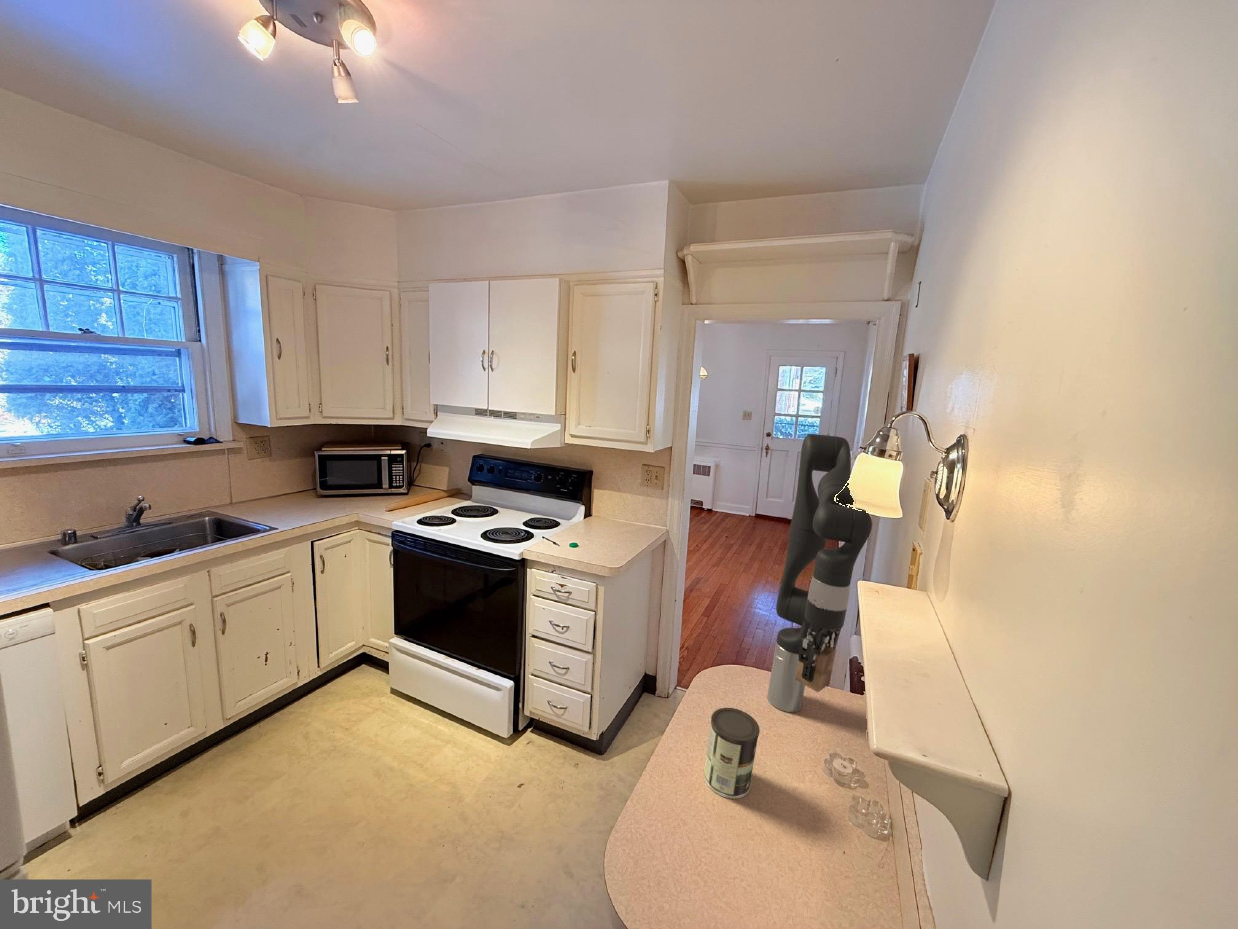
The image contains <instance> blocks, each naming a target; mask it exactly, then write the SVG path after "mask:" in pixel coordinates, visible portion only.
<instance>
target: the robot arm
mask: <svg viewBox="0 0 1238 929" xmlns="http://www.w3.org/2000/svg"><path fill="white" fill-rule="evenodd" d="M799 458H800V460H799V469H798V470H799V471H798V479H797V488H796V496H795V500H794V501H795V502H794V507H793V512H792V517H791V523H790V528H789V533H788V534H789V535H788V544H787V549H786V550H787V551H786V557H785V563H784V564H785V565H784V570H783V572H782V573H783V574H782V576H781V577H782V578H781V582H780V586H779V591H778V594H777V595H778V596H777V599H776V605H775V606H776V607H775V611H776V615H777V616H778V617H779V618H781V619H783V620H785V621H788V622H791V623H793V624H796V625H799V626H801V627H785V628H782V629H780V630H779V631H778V632H777V636H776V643H775V647H774V654H773V658H772V659H773V660H772V665H771V672H770V677H769V683H768V688H767V697H766V698H767V700H768V702H769V703H770V705H771V706H773V707H775V708H776V709H778V710H780V711H783V712H787V713H797V712H800V711H801V709H802V707H803V706H802V705H803V699H804V695H805V691H806V685H804V684H802V683H800V682H799V681H797V680H795V679H796V674H797V668H798V663H799V661H800V662H802V663H804V665H803V671H802V678H803V679H805V680H807V681H808V682H812V681H813V678H814V672H815V667H816V663H817V659H818V656H821V655H822V653H823V650H824V647H828V648H830V649H831V648H834V649H837V645H838V642H839V641H838V640H839V637H840V634H841V630H842V628H843V627H844V625H845V621H846V620H845V619H846V615H847V614H846V613H847V610H848V604H849V600H850V587H851V581H852V577H853V571H854V567H855V564H856V561H857V559H858V557H859V555H860V553H861V551H862V549H863V548H864V546H865V544H866V543H867V541H868V539H869V537H870V535H871V532H872V528H873V519H872V517H871V515H870V513H869V512H868V513H866V511H867V510H866V509H863V508H860V507H855V508H856V509H858V510H862V511H858V510H855V509H852V508H853V507H850V506H849V508H847V506H848V505H846V504H850V505H853V502H854V500H853V498H852V496H851V495H850V490H849V488H848V487H847V486H848V485H849V483H847V481H848V480H849V478H850V475H851V474H852V472H851V471H852V466H851V464H852V462H851V461H852V460H851V459H852V458H851V446H850V443H849V441H848V440H847V439H846V438H845V437H842V436H835V435H827V434H826V435H825V434H817V433H808V434H806V435H805V437H804V439H803V441H802V445H801V451H800V457H799ZM813 471H816V472H822V473H823V472H825V474H824V475H823V476H822V477H821V478H820V480H819V482H818V484H817V491H816V488H815V486H814V481H813ZM846 483H847V485H846V486H845V484H846ZM844 486H845V488H844V489H843V487H844ZM842 489H843V490H842ZM841 490H842V491H841ZM840 491H841V492H840ZM839 492H840V493H839ZM838 493H839V494H838ZM836 494H838V495H837V496H836V502H838V503H836V502H835V501H834V497H835V495H836ZM837 498H838V499H839V500H837ZM839 503H841V504H842V505H845V507H844V506H842V505H839ZM828 540H830V541H836V542H843V544H842V545H841V546H839V547H833V548H832V547H831V548H826V546H827V541H828ZM813 561H815V562H814V567H813V574H812V579H811V581H810V584H809V589H808V590H805V589H802V588H799V587H796V582H797V579H798V577H799V576H800V575H801V573H802V572H803V571H804V570H805V568H807V567H808V566H809V565H810V564H812V562H813ZM814 647H815V648H817V649H819V650H818V651H816V650H814V649H813V648H814ZM813 654H814V658H813Z"/></svg>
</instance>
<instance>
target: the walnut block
mask: <svg viewBox="0 0 1238 929" xmlns="http://www.w3.org/2000/svg"><path fill="white" fill-rule="evenodd" d="M813 649H814V650H816V651H818V650H819V649H817V648H815V647H814V648H813ZM836 649H837V648H836ZM836 649H834V648H831V649H830V648H828V647H824V650H823V653H822V655H821V656H818V659H817V663H816V667H815V672H814V678H813V681H812V682H808V681H807V680H805V679H803V678H802V671H803V665H804V663H802V662H800V661H799V663H798V668H797V674H796V679H795V680H797V681H799V682H800V683H802V684H804V685H805V687H807V688H809V689H811V690H813V691H814V692H816V693H819V692H821V691H822V690H823V689H825V688H826V687H827V686H829V685H830V682H831V677H832V672H833V668H834V663H835V662H834V661H835V656H836V651H837V650H836ZM813 658H814V654H813Z"/></svg>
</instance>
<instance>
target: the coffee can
mask: <svg viewBox="0 0 1238 929" xmlns="http://www.w3.org/2000/svg"><path fill="white" fill-rule="evenodd" d="M759 735H760V726H759V723H758V722H757V721H756V719H755V718H754V717H753V716H751V715H750V714H749V713H747V712H746V711H743V710H741V709H738V708H734V707H720V708H717V709H716V710H715V711H713V712H712V714H711V717H710V728H709V735H708V742H707V750H706V757H705V764H704V770H703V778H704V781H705V783H706V785H707V787H709V789H710V790H711V791H712V792H714V793H715V794H717V795H719V796H720V797H723V798H726V799H731V800H734V799H735V800H736V799H741V798H744V797H745V796H746V795H747V794H749V792H750V790H751V783H752V776H753V768H754V763H755V757H756V751H757V750H756V749H757V745H758V738H759Z"/></svg>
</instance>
